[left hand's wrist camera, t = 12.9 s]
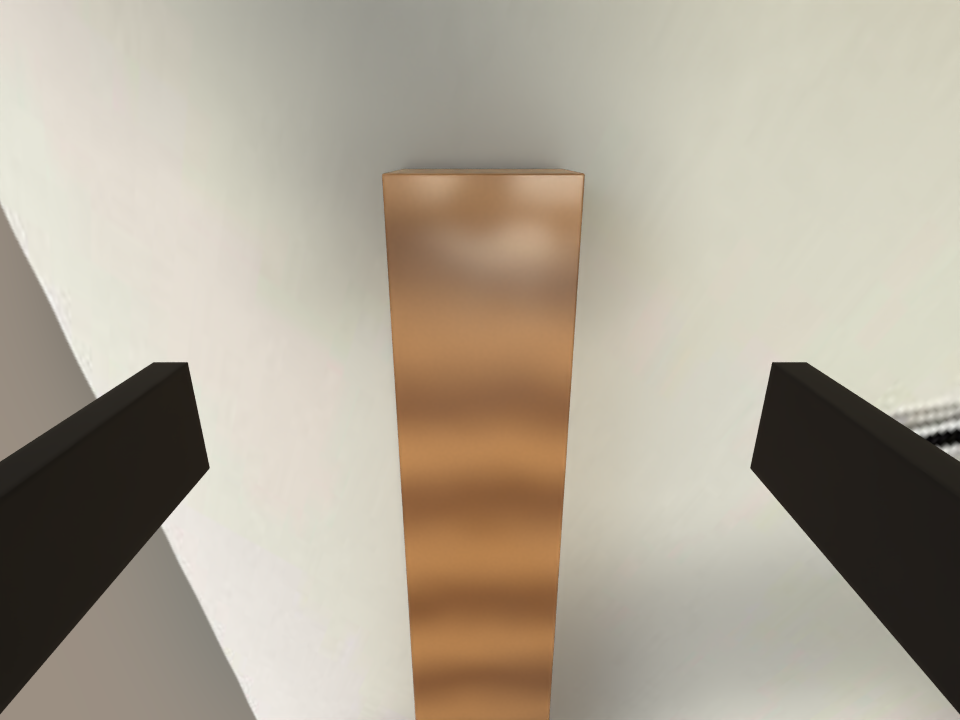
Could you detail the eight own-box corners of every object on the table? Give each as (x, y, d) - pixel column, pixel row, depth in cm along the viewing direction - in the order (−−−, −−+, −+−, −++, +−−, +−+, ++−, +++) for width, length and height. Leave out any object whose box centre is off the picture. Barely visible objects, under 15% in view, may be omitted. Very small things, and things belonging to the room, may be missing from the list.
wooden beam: (401, 169, 34) (381, 173, 27) (563, 168, 34) (585, 173, 27) (430, 760, 54) (423, 849, 47) (533, 760, 54) (540, 849, 47)
